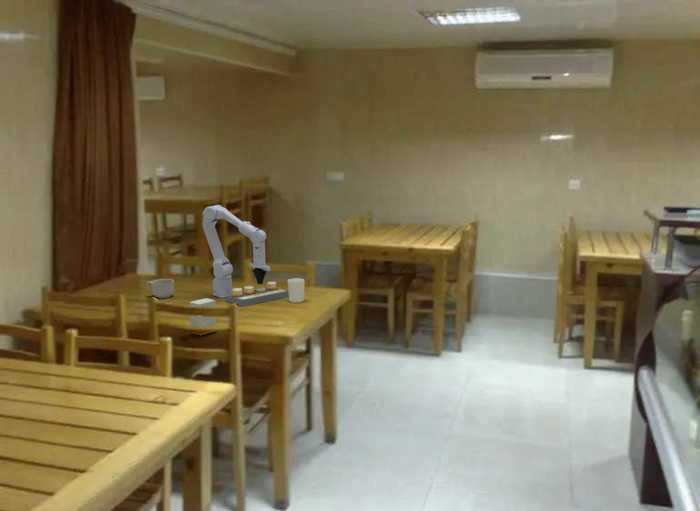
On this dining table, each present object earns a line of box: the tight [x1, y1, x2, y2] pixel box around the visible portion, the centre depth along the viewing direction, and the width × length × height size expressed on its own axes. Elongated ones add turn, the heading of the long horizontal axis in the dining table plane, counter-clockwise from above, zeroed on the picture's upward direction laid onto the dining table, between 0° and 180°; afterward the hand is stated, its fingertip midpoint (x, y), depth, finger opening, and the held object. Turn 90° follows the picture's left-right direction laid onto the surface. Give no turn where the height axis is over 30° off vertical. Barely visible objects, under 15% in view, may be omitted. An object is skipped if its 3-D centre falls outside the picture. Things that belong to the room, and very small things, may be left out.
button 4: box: [266, 281, 277, 291], centre depth 322 cm, size 4×4×4 cm
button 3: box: [255, 287, 266, 293], centre depth 318 cm, size 4×4×4 cm
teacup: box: [146, 278, 175, 299], centre depth 323 cm, size 14×11×8 cm
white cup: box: [287, 277, 306, 304], centre depth 309 cm, size 8×8×10 cm
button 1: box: [232, 287, 243, 298], centre depth 309 cm, size 4×4×4 cm
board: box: [225, 287, 289, 308], centre depth 314 cm, size 14×26×3 cm, turn 132°
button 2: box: [243, 285, 255, 295], centre depth 313 cm, size 4×4×4 cm
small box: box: [188, 298, 218, 328], centre depth 259 cm, size 8×6×13 cm
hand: (260, 283), depth 317 cm, fingers closed
